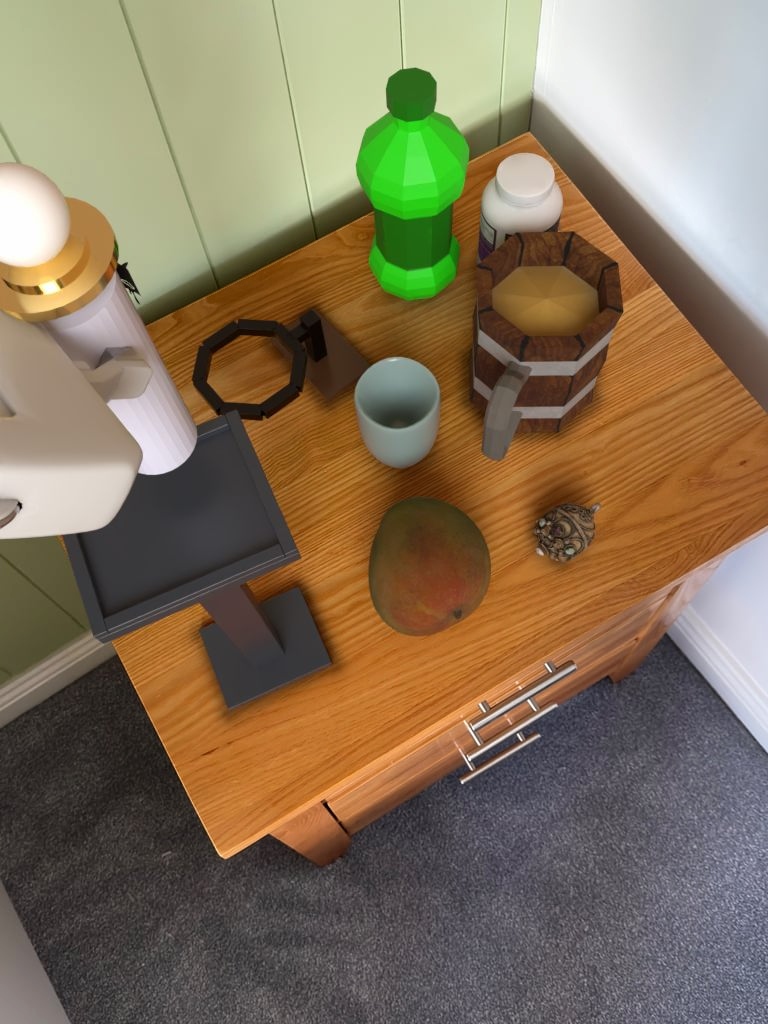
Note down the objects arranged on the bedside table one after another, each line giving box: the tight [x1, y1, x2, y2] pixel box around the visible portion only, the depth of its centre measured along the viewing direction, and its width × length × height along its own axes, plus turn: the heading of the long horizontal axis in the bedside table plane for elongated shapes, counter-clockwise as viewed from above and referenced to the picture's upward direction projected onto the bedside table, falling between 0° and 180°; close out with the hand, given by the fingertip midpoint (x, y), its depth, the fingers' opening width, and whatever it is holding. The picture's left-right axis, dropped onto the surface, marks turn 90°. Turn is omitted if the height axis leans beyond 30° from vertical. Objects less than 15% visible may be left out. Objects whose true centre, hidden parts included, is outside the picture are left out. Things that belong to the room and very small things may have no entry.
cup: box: [353, 356, 442, 469], centre depth 80 cm, size 8×8×10 cm
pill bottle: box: [476, 152, 564, 266], centre depth 85 cm, size 8×8×14 cm
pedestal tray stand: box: [61, 410, 333, 712], centre depth 62 cm, size 12×10×32 cm
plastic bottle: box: [355, 67, 470, 302], centre depth 81 cm, size 10×10×25 cm
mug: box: [468, 230, 625, 462], centre depth 79 cm, size 20×14×15 cm
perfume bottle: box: [0, 161, 197, 475], centre depth 38 cm, size 6×6×20 cm
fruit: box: [367, 495, 492, 637], centre depth 74 cm, size 12×12×10 cm
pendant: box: [531, 501, 601, 563], centre depth 77 cm, size 5×8×5 cm, turn 129°
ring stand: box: [191, 307, 372, 422], centre depth 84 cm, size 16×11×7 cm, turn 129°
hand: (105, 331), depth 38 cm, fingers closed on perfume bottle, 4 cm apart
